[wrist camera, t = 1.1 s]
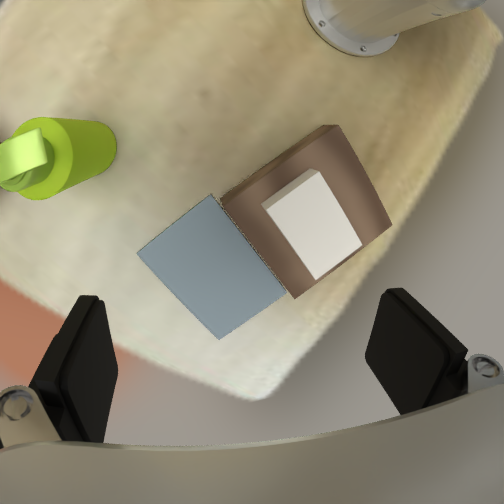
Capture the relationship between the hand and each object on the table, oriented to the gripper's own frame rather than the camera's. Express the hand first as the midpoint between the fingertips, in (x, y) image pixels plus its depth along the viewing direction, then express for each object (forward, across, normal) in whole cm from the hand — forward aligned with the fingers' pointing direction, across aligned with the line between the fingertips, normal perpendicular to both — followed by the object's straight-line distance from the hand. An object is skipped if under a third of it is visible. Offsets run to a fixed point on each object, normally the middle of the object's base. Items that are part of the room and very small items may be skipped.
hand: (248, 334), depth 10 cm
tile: (+22, -10, +2) cm, 24 cm away
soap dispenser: (+26, +13, -5) cm, 29 cm away
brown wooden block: (+26, -10, +2) cm, 28 cm away
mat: (+26, 0, +10) cm, 27 cm away
